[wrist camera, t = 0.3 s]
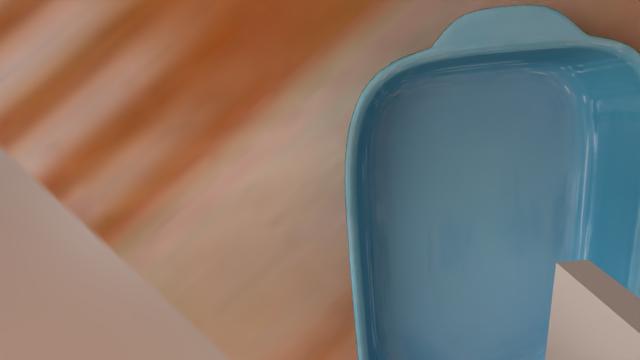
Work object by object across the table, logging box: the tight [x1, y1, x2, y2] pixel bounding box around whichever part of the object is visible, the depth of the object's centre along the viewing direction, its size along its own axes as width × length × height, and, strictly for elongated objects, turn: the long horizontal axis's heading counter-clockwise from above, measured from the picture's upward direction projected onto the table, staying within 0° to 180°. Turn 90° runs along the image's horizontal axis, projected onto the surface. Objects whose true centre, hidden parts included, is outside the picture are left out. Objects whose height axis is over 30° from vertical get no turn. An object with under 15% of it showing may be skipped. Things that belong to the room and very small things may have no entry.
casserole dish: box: [345, 5, 640, 360], centre depth 38 cm, size 37×22×7 cm, turn 5°
